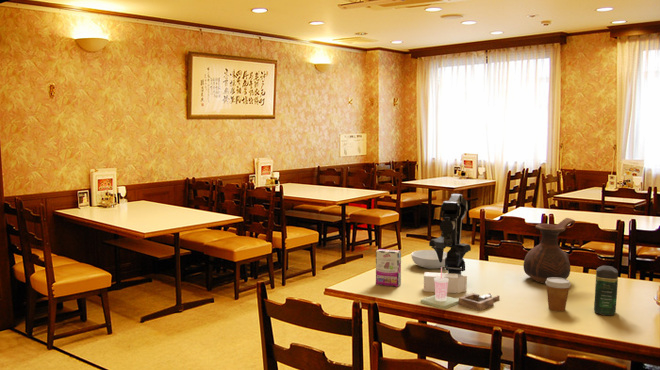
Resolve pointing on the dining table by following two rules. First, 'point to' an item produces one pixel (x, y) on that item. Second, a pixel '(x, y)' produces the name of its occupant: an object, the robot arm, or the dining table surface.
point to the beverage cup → (441, 288)
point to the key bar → (483, 297)
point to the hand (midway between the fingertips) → (449, 264)
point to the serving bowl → (428, 259)
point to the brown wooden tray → (473, 303)
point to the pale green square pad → (440, 302)
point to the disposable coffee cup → (557, 293)
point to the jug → (548, 254)
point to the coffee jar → (606, 290)
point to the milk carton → (455, 282)
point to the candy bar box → (388, 267)
